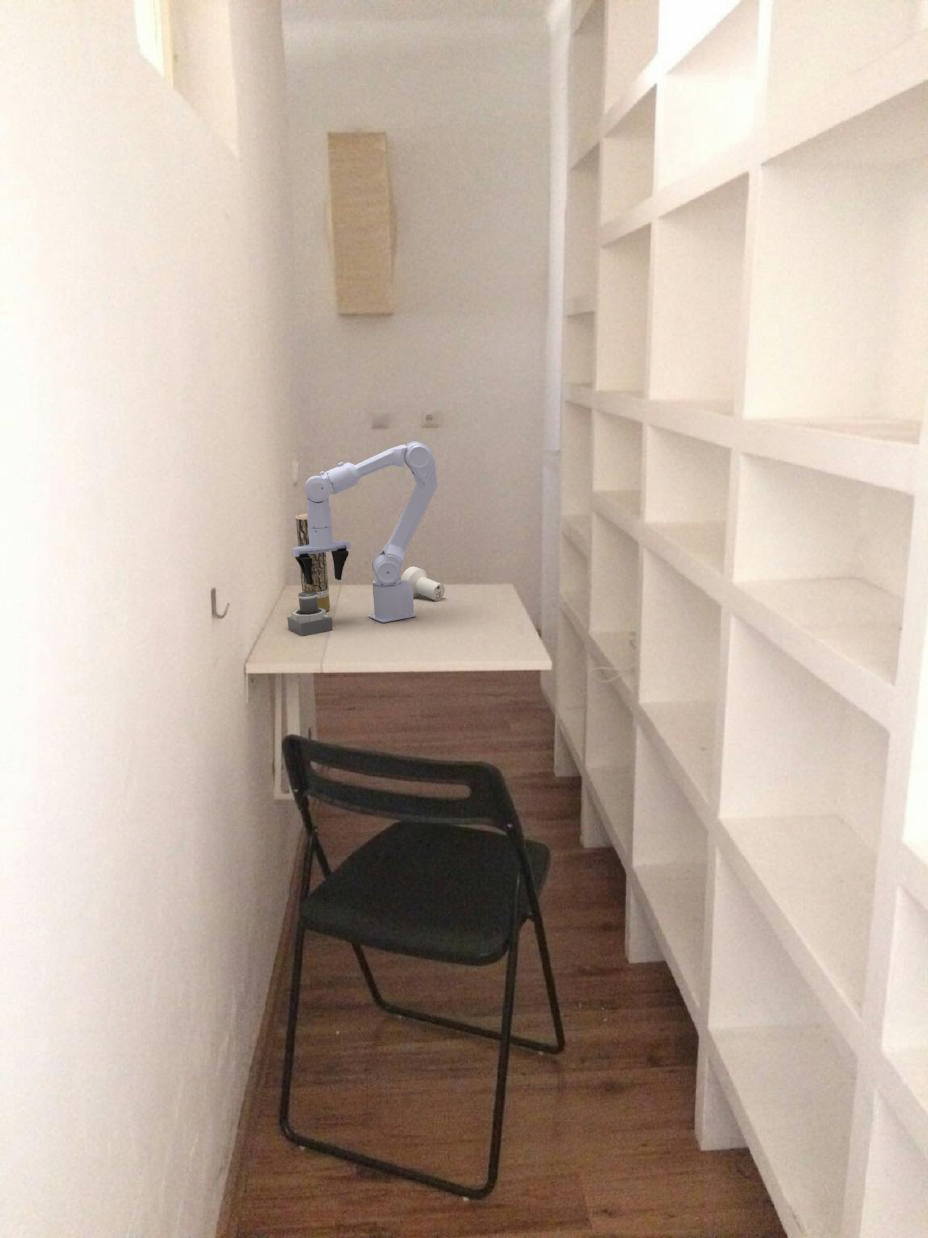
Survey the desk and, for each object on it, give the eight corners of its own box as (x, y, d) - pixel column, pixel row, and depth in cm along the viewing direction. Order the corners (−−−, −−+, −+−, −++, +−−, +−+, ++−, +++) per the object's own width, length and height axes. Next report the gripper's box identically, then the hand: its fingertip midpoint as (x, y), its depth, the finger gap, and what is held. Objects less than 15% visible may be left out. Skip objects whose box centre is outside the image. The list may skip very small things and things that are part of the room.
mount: (318, 623, 239) (317, 605, 238) (332, 630, 232) (331, 611, 231) (288, 629, 235) (286, 611, 234) (301, 636, 228) (300, 617, 227)
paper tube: (332, 607, 254) (325, 512, 248) (326, 614, 248) (319, 517, 241) (307, 608, 255) (299, 513, 249) (300, 614, 248) (292, 517, 242)
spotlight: (419, 587, 268) (418, 561, 263) (449, 600, 261) (449, 573, 257) (398, 598, 262) (397, 571, 258) (429, 611, 256) (428, 585, 252)
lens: (313, 614, 236) (311, 590, 234) (322, 617, 232) (320, 593, 230) (297, 617, 233) (294, 593, 231) (305, 621, 230) (303, 596, 228)
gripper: (340, 521, 240) (343, 574, 243) (285, 528, 232) (289, 583, 236) (352, 524, 234) (356, 579, 238) (296, 531, 227) (301, 588, 230)
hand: (324, 581), depth 236 cm, fingers open, 7 cm apart
